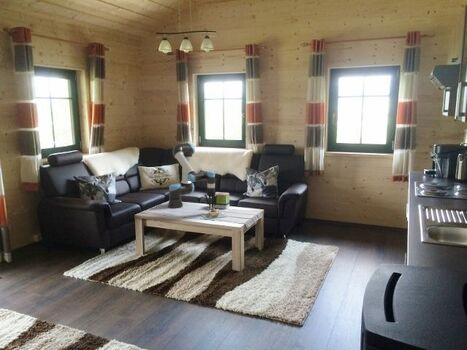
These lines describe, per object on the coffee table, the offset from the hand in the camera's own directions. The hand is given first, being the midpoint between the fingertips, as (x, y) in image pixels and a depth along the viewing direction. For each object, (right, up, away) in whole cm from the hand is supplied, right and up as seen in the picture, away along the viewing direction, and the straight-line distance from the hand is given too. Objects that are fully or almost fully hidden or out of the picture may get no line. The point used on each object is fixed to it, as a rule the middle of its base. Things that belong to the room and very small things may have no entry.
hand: (211, 211), depth 358 cm
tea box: (+9, +2, +21) cm, 23 cm away
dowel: (+7, -2, 0) cm, 7 cm away
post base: (+2, -4, -8) cm, 9 cm away
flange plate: (+3, -3, -6) cm, 7 cm away
